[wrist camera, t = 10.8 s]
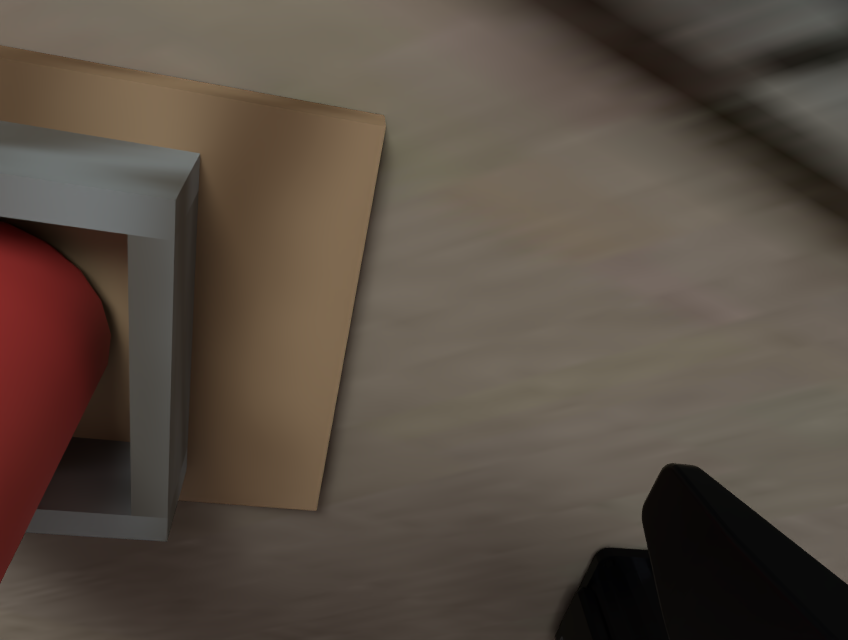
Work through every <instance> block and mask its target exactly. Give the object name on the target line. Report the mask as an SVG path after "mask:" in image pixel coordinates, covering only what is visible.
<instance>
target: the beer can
mask: <svg viewBox="0 0 848 640" xmlns="http://www.w3.org/2000/svg"><path fill="white" fill-rule="evenodd" d="M110 340H111V333H110V330H109V326H108V323H107V319H106V316H105V312H104V309H103V305H102V302H101V299H100V298H99V296H98V295H97V294H96V292H95V291H94V289H93V288H92V286H91V285H90V283H89V282H88V281H87V279H86V278H85V276H84V275H83V273H82V272H81V270H80V269H79V268H77V267H76V266H75V265H74V264H73V263H71V262H70V261H69V260H68V259H67V258H65V257H64V256H63V255H62V254H61V253H59V252H58V251H57V250H56V249H55V248H54V247H52V246H51V245H50V244H49V243H47V242H45V241H43V240H41V239H39V238H37V237H35V236H33V235H31V234H29V233H27V232H25V231H23V230H21V229H19V228H17V227H15V226H13V225H11V224H9V223H4V222H0V583H1V581H2V579H3V577H4V575H5V572H6V570H7V568H8V566H9V564H10V562H11V560H12V558H13V556H14V554H15V552H16V550H17V548H18V546H19V544H20V542H21V540H22V538H23V536H24V534H25V532H26V530H27V528H28V526H29V524H30V522H31V519H32V517H33V515H34V513H35V511H36V509H37V507H38V505H39V503H40V501H41V499H42V497H43V495H44V493H45V491H46V489H47V487H48V485H49V483H50V481H51V479H52V477H53V475H54V473H55V471H56V469H57V466H58V464H59V462H60V460H61V458H62V456H63V454H64V452H65V450H66V448H67V446H68V444H69V442H70V440H71V438H72V436H73V434H74V432H75V430H76V428H77V426H78V424H79V422H80V420H81V418H82V416H83V414H84V411H85V409H86V407H87V405H88V403H89V401H90V399H91V397H92V395H93V393H94V391H95V389H96V387H97V385H98V383H99V381H100V379H101V377H102V375H103V373H104V371H105V369H106V367H107V365H108V358H109V349H110Z"/></svg>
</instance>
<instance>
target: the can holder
mask: <svg viewBox="0 0 848 640" xmlns="http://www.w3.org/2000/svg"><path fill="white" fill-rule="evenodd" d="M385 129H386V124H385V117H384V115H379V114H374V113H368V112H363V111H357V110H352V109H346V108H341V107H335V106H330V105H324V104H319V103H313V102H308V101H302V100H297V99H291V98H286V97H280V96H275V95H269V94H264V93H258V92H253V91H247V90H242V89H236V88H231V87H225V86H220V85H214V84H209V83H204V82H198V81H193V80H187V79H182V78H176V77H171V76H165V75H160V74H154V73H149V72H143V71H138V70H132V69H127V68H121V67H116V66H110V65H105V64H99V63H94V62H88V61H83V60H77V59H72V58H66V57H61V56H55V55H50V54H44V53H39V52H34V51H28V50H23V49H17V48H12V47H6V46H1V45H0V222H4V223H9V224H11V225H13V226H15V227H17V228H19V229H21V230H23V231H25V232H27V233H29V234H31V235H33V236H35V237H37V238H39V239H41V240H43V241H45V242H47V243H49V244H50V245H51V246H52V247H54V248H55V249H56V250H57V251H58V252H59V253H61V254H62V255H63V256H64V257H65V258H67V259H68V260H69V261H70V262H71V263H73V264H74V265H75V266H76V267H77V268H79V269H80V270H81V272H82V273H83V275H84V276H85V278H86V279H87V281H88V282H89V283H90V285H91V286H92V288H93V289H94V291H95V292H96V294H97V295H98V296H99V298H100V299H101V302H102V305H103V309H104V312H105V316H106V319H107V323H108V326H109V330H110V333H111V340H110V349H109V358H108V365H107V367H106V369H105V371H104V373H103V375H102V377H101V379H100V381H99V383H98V385H97V387H96V389H95V391H94V393H93V395H92V397H91V399H90V401H89V403H88V405H87V407H86V409H85V411H84V414H83V416H82V418H81V420H80V422H79V424H78V426H77V428H76V430H75V432H74V434H73V436H72V438H71V440H70V442H69V444H68V446H67V448H66V450H65V452H64V454H63V456H62V458H61V460H60V462H59V464H58V466H57V469H56V471H55V473H54V475H53V477H52V479H51V481H50V483H49V485H48V487H47V489H46V491H45V493H44V495H43V497H42V499H41V501H40V503H39V505H38V507H37V509H36V511H35V513H34V515H33V517H32V519H31V522H30V524H29V526H28V528H27V530H26V532H25V533H41V534H57V535H72V536H88V537H104V538H119V539H135V540H151V541H166V542H167V539H168V536H169V532H170V528H171V525H172V521H173V517H174V514H175V510H176V506H177V503H178V501H192V502H205V503H219V504H232V505H245V506H259V507H272V508H286V509H299V510H313V511H316V510H317V505H318V499H319V494H320V488H321V483H322V477H323V472H324V466H325V460H326V455H327V449H328V444H329V438H330V433H331V427H332V422H333V416H334V411H335V405H336V400H337V394H338V389H339V383H340V378H341V372H342V367H343V361H344V356H345V350H346V345H347V339H348V334H349V328H350V322H351V317H352V311H353V306H354V300H355V295H356V289H357V284H358V278H359V273H360V267H361V262H362V256H363V251H364V245H365V240H366V234H367V229H368V223H369V218H370V212H371V207H372V201H373V196H374V190H375V184H376V179H377V173H378V168H379V162H380V157H381V151H382V146H383V140H384V135H385Z"/></svg>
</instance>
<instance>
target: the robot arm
mask: <svg viewBox="0 0 848 640" xmlns="http://www.w3.org/2000/svg"><path fill="white" fill-rule="evenodd" d="M642 523H643V528H644V533H645V537H646V542H647V547H648V550H635V549H620V548H605V549H602V550H600V551H599V552H598V553H597V554H596V555H595V557H594V559H593V561H592V563H591V565H590V567H589V569H588V571H587V573H586V575H585V577H584V579H583V581H582V583H581V585H580V587H579V589H578V591H577V592H576V594H575V596H574V598H573V600H572V602H571V604H570V606H569V608H568V610H567V612H566V614H565V616H564V618H563V620H562V622H561V624H560V628H559V630H558V632H557V634H556V636H555V640H848V585H847V584H846V583H845V582H844V581H842V580H841V579H840V578H839V577H837V576H836V575H835V574H833V573H832V572H831V571H830V570H828V569H827V568H826V567H825V566H823V565H822V564H821V563H820V562H818V561H817V560H816V559H814V558H813V557H812V556H811V555H809V554H808V553H807V552H806V551H804V550H803V549H802V548H801V547H799V546H798V545H797V544H795V543H794V542H793V541H792V540H790V539H789V538H788V537H787V536H785V535H784V534H783V533H781V532H780V531H779V530H778V529H776V528H775V527H774V526H773V525H771V524H770V523H769V522H768V521H766V520H765V519H764V518H762V517H761V516H760V515H759V514H757V513H756V512H755V511H754V510H752V509H751V508H750V507H749V506H747V505H746V504H745V503H743V502H742V501H741V500H740V499H738V498H737V497H736V496H735V495H733V494H732V493H731V492H730V491H728V490H727V489H726V488H724V487H723V486H722V485H721V484H719V483H718V482H717V481H716V480H714V479H713V478H712V477H711V476H709V475H708V474H707V473H705V472H704V471H703V470H702V469H700V468H699V467H697V466H694V465H686V464H676V463H671V464H667V465H666V466H665V467H663V468H662V470H661V472H660V474H659V475H658V477H657V479H656V481H655V483H654V485H653V487H652V489H651V491H650V493H649V495H648V497H647V499H646V500H645V502H644V505H643V509H642Z"/></svg>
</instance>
